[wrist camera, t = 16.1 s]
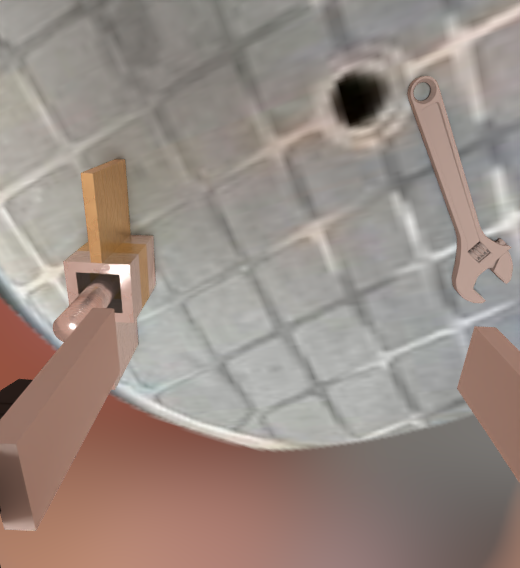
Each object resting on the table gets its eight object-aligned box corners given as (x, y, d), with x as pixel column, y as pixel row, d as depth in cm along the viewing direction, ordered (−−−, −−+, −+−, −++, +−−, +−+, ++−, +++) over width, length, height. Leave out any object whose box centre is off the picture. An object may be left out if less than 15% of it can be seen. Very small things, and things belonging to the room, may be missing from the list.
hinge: (90, 157, 44) (50, 171, 36) (149, 160, 44) (122, 175, 36) (110, 342, 53) (81, 388, 44) (158, 345, 53) (139, 390, 44)
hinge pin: (116, 248, 48) (50, 315, 33) (138, 249, 48) (83, 316, 33) (118, 269, 49) (55, 343, 34) (140, 270, 49) (86, 344, 34)
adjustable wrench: (400, 84, 42) (406, 83, 40) (467, 56, 40) (475, 54, 39) (456, 301, 50) (462, 308, 49) (511, 283, 49) (520, 289, 48)
